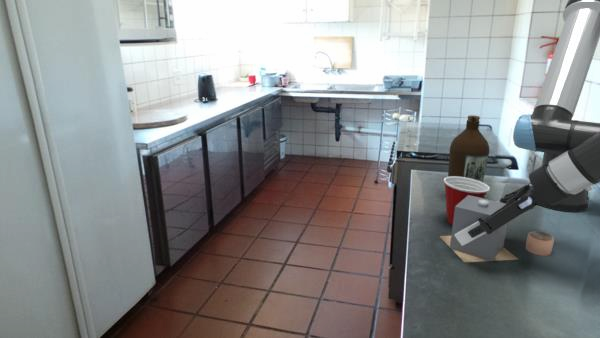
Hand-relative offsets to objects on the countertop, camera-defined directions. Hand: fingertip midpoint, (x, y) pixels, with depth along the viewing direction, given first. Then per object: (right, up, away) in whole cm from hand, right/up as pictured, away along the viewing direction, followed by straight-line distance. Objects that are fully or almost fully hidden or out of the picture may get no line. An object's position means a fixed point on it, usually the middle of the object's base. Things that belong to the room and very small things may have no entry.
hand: (468, 229), depth 92 cm
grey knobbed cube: (+2, -4, 0) cm, 4 cm away
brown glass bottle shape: (+11, +4, +32) cm, 34 cm away
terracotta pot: (+15, -6, -1) cm, 16 cm away
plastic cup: (+3, -1, +13) cm, 13 cm away
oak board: (+2, -5, 0) cm, 5 cm away
